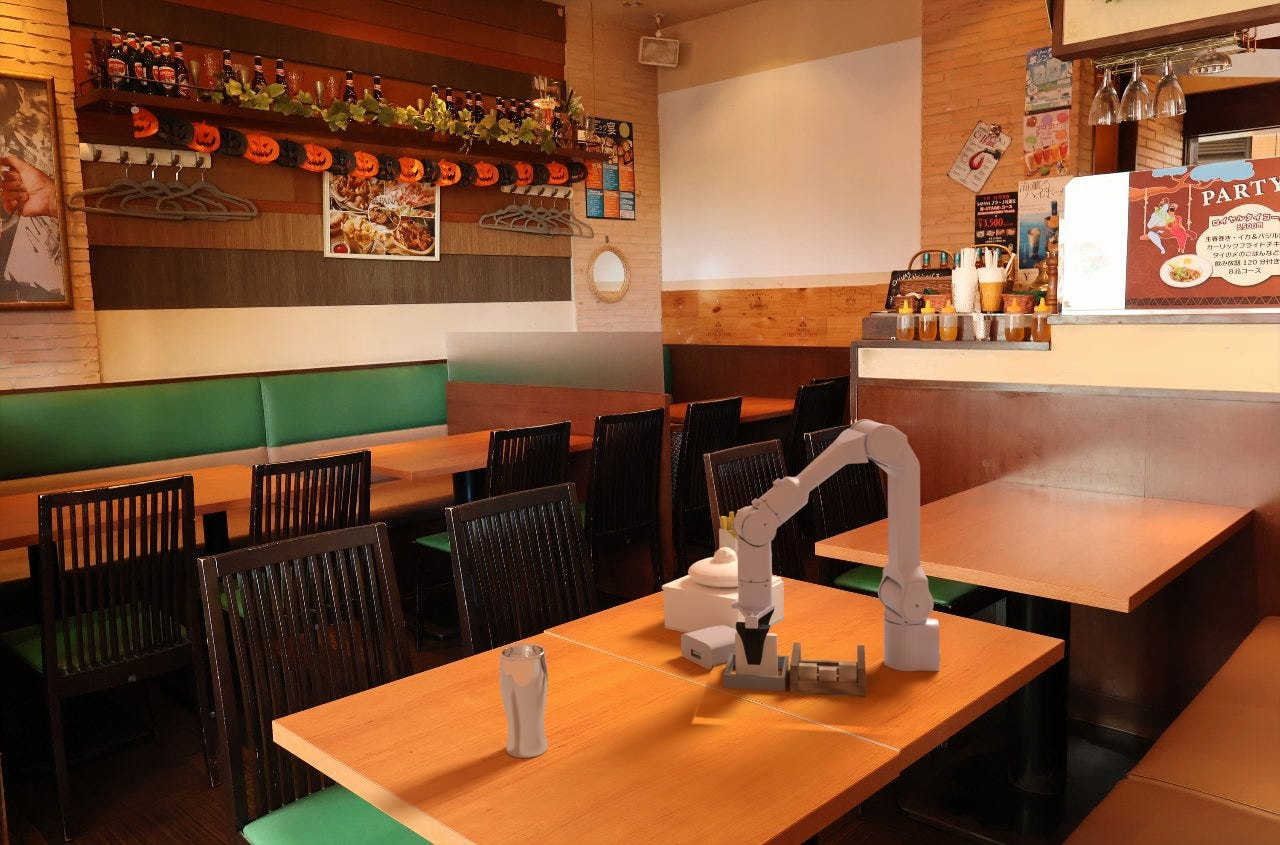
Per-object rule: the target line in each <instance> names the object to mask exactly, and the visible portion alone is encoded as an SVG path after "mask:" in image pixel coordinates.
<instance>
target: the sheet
mask: <svg viewBox="0 0 1280 845" xmlns="http://www.w3.org/2000/svg"><path fill="white" fill-rule="evenodd" d="M735 654H736V667H735V674H745V675H765V676H779V675H778V674H779V671H778V670H779V669H778V657H777V655H778V633H773V632H771V633H770V632H768V633H767V635H766V638H765V641H764V647H763V655H762V660H761V664H760V665H748V663H747V660H746V655H745V651H744V646H743V643H742V640H741V638H740V636H739V634H738V632H736V633H735Z"/></svg>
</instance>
